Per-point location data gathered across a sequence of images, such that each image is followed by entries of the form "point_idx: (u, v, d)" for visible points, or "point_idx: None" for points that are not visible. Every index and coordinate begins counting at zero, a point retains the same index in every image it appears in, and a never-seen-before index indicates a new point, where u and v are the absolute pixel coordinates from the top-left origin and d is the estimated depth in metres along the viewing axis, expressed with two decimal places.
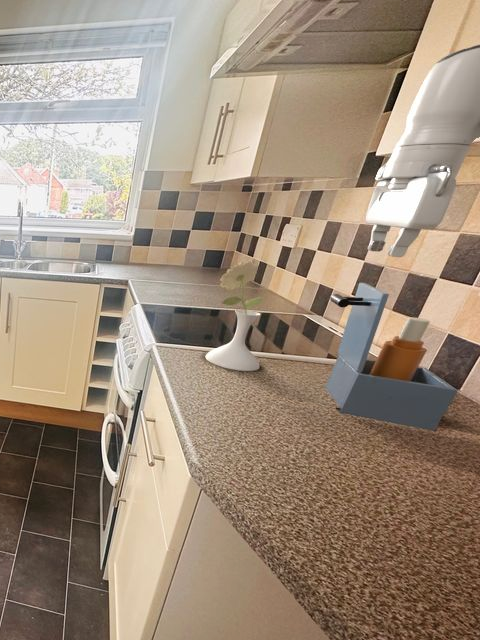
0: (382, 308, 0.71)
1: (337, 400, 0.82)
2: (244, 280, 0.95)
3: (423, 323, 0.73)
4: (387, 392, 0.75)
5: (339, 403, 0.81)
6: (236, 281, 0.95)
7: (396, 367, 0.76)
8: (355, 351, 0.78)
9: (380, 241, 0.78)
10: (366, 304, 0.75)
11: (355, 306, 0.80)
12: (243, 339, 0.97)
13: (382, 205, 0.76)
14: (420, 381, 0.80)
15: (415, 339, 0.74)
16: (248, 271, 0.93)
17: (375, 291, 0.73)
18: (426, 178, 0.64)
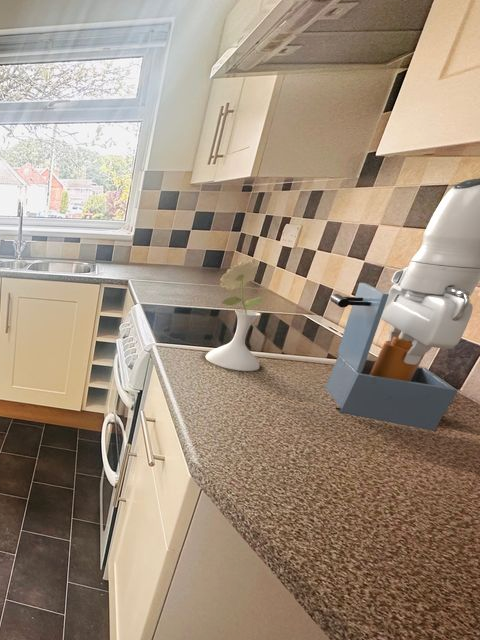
0: (382, 308, 0.71)
1: (337, 400, 0.82)
2: (244, 280, 0.95)
3: None
4: (387, 392, 0.75)
5: (339, 403, 0.81)
6: (236, 281, 0.95)
7: (396, 367, 0.76)
8: (355, 351, 0.78)
9: None
10: (366, 304, 0.75)
11: (355, 306, 0.80)
12: (243, 339, 0.97)
13: (398, 308, 0.78)
14: (420, 381, 0.80)
15: None
16: (248, 271, 0.93)
17: (375, 291, 0.73)
18: (443, 301, 0.66)
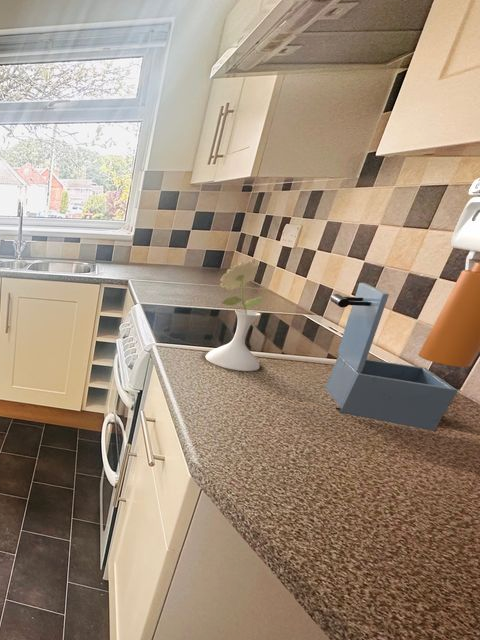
0: (382, 308, 0.71)
1: (337, 400, 0.82)
2: (244, 280, 0.95)
3: None
4: (387, 392, 0.75)
5: (339, 403, 0.81)
6: (236, 281, 0.95)
7: (479, 301, 0.57)
8: (355, 351, 0.78)
9: None
10: (366, 304, 0.75)
11: (355, 306, 0.80)
12: (243, 339, 0.97)
13: (479, 226, 0.60)
14: (420, 381, 0.80)
15: None
16: (248, 271, 0.93)
17: (375, 291, 0.73)
18: None
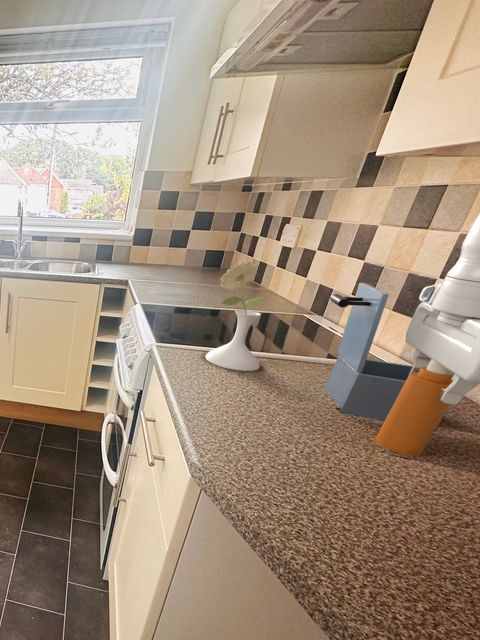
0: (382, 308, 0.71)
1: (337, 400, 0.82)
2: (244, 280, 0.95)
3: None
4: (387, 392, 0.75)
5: (339, 403, 0.81)
6: (236, 281, 0.95)
7: (423, 404, 0.64)
8: (355, 351, 0.78)
9: None
10: (366, 304, 0.75)
11: (355, 306, 0.80)
12: (243, 339, 0.97)
13: (427, 331, 0.65)
14: None
15: (447, 372, 0.62)
16: (248, 271, 0.93)
17: (375, 291, 0.73)
18: None
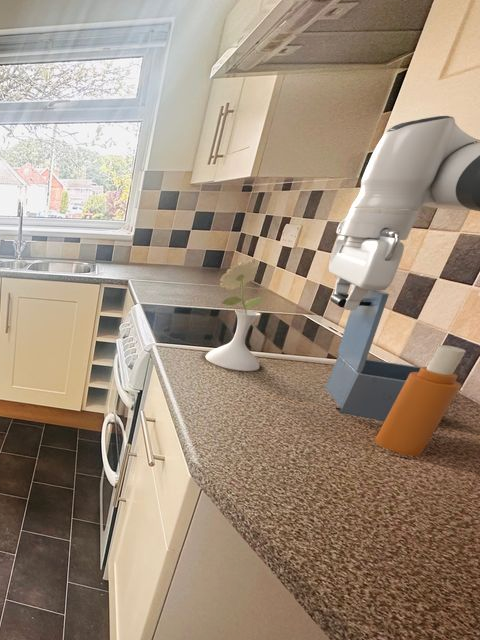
0: (382, 308, 0.71)
1: (337, 400, 0.82)
2: (244, 280, 0.95)
3: (458, 353, 0.61)
4: (387, 392, 0.75)
5: (339, 403, 0.81)
6: (236, 281, 0.95)
7: (423, 404, 0.64)
8: (355, 351, 0.78)
9: (343, 293, 0.79)
10: (366, 304, 0.75)
11: None
12: (243, 339, 0.97)
13: (341, 258, 0.79)
14: None
15: (447, 372, 0.62)
16: (248, 271, 0.93)
17: (375, 291, 0.73)
18: (376, 242, 0.67)
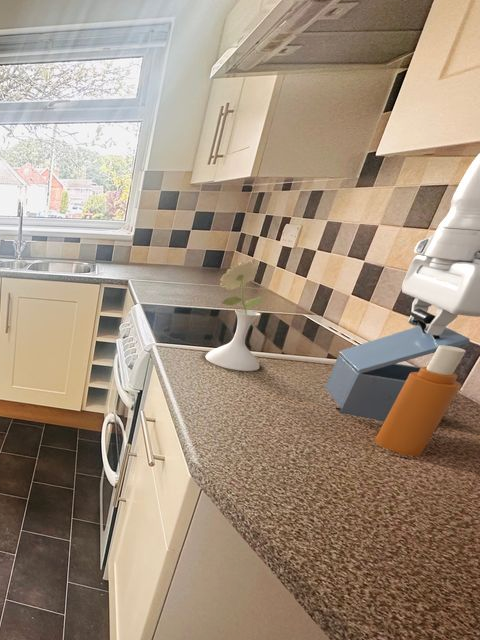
0: None
1: (337, 400, 0.82)
2: (244, 280, 0.95)
3: (458, 353, 0.61)
4: (387, 392, 0.75)
5: (339, 403, 0.81)
6: (236, 281, 0.95)
7: (423, 404, 0.64)
8: (372, 358, 0.77)
9: None
10: (435, 335, 0.72)
11: (407, 333, 0.78)
12: (243, 339, 0.97)
13: (421, 279, 0.75)
14: None
15: (447, 372, 0.62)
16: (248, 271, 0.93)
17: (456, 333, 0.71)
18: (473, 266, 0.63)
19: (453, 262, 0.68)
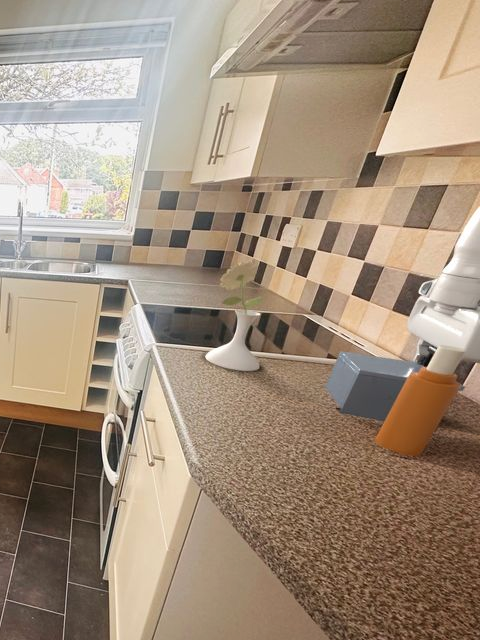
0: None
1: (337, 400, 0.82)
2: (244, 280, 0.95)
3: (458, 353, 0.61)
4: (387, 392, 0.75)
5: (339, 403, 0.81)
6: (236, 281, 0.95)
7: (423, 404, 0.64)
8: (373, 367, 0.77)
9: None
10: None
11: (407, 363, 0.80)
12: (243, 339, 0.97)
13: (426, 320, 0.77)
14: None
15: (447, 372, 0.62)
16: (248, 271, 0.93)
17: None
18: (477, 315, 0.65)
19: (457, 308, 0.69)
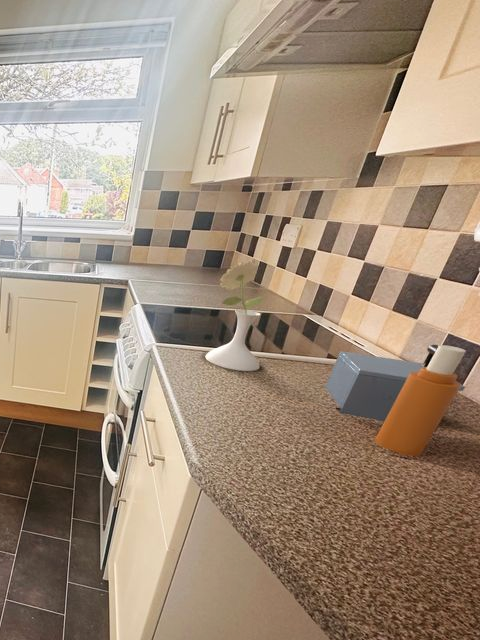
0: None
1: (337, 400, 0.82)
2: (244, 280, 0.95)
3: (458, 353, 0.61)
4: (387, 392, 0.75)
5: (339, 403, 0.81)
6: (236, 281, 0.95)
7: (423, 404, 0.64)
8: (373, 367, 0.77)
9: None
10: None
11: (407, 363, 0.80)
12: (243, 339, 0.97)
13: None
14: None
15: (447, 372, 0.62)
16: (248, 271, 0.93)
17: None
18: None
19: None
